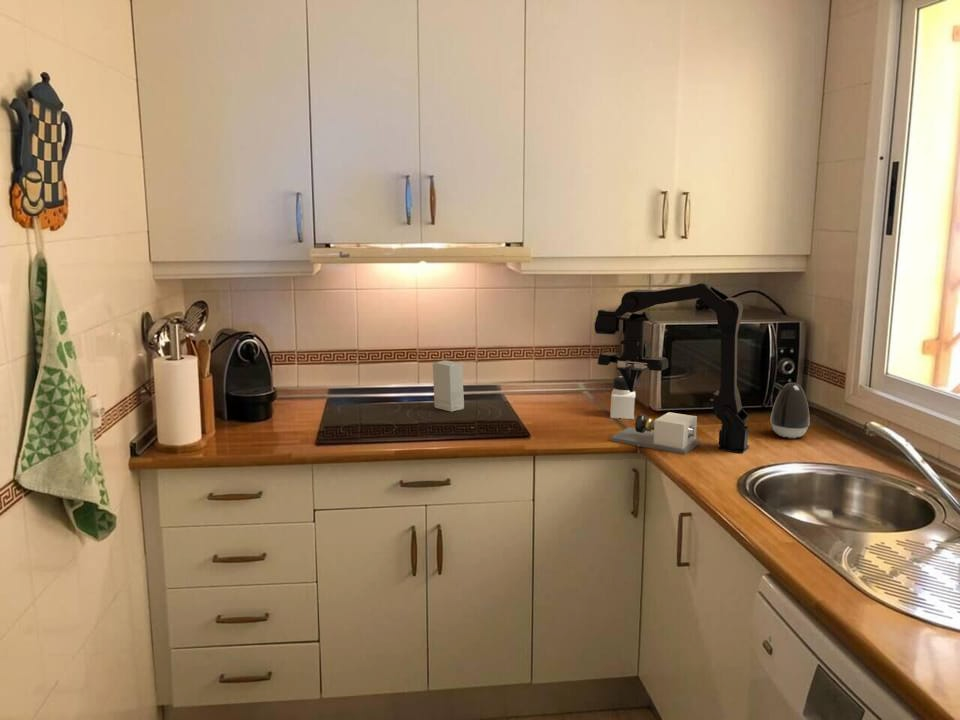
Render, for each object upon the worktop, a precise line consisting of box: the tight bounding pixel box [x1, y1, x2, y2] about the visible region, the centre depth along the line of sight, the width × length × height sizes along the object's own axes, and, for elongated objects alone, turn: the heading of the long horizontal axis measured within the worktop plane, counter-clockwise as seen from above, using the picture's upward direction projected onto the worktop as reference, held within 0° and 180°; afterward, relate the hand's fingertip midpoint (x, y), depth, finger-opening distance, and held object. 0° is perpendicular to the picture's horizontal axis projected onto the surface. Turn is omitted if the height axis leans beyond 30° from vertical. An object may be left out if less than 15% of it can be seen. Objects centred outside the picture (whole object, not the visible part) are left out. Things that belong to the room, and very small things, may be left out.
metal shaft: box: [634, 413, 695, 437], centre depth 216 cm, size 16×5×5 cm, turn 56°
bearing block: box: [609, 411, 701, 455], centre depth 217 cm, size 21×12×8 cm, turn 56°
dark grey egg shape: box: [770, 382, 811, 439], centre depth 223 cm, size 10×10×15 cm
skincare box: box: [432, 360, 465, 412], centre depth 251 cm, size 8×6×15 cm
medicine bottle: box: [609, 375, 636, 420], centre depth 243 cm, size 7×7×12 cm
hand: (631, 391), depth 222 cm, fingers closed
